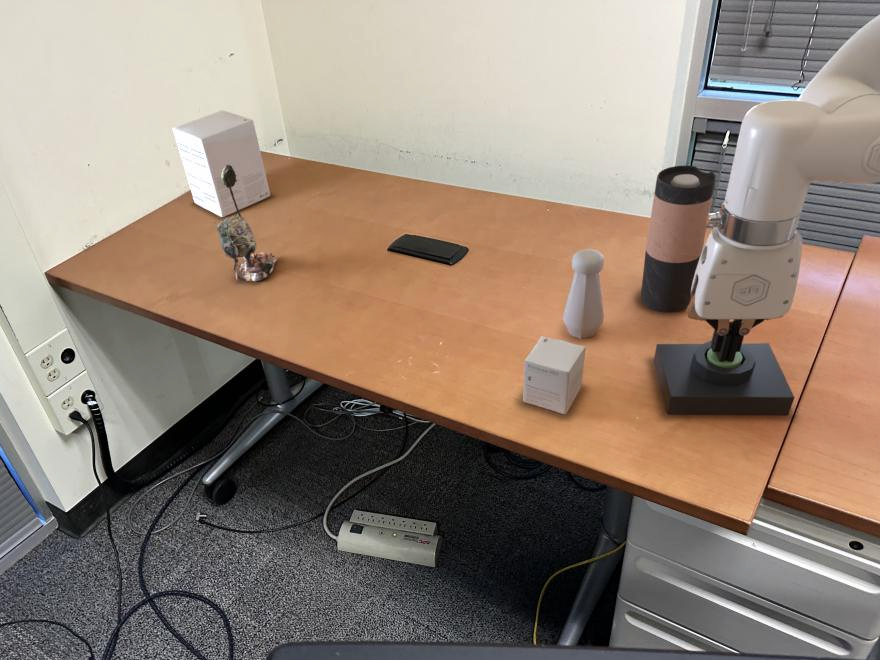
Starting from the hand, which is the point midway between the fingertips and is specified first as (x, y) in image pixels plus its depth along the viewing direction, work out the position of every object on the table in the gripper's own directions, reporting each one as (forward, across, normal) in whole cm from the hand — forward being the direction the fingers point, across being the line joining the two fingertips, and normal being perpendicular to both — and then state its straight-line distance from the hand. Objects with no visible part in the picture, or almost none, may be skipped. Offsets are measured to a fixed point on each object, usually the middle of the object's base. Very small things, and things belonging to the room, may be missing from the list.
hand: (723, 354), depth 87 cm
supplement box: (+6, -89, +66) cm, 111 cm away
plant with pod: (+6, -74, +33) cm, 81 cm away
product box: (+6, -21, -2) cm, 22 cm away
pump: (+2, 0, 0) cm, 2 cm away
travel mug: (+6, -3, +21) cm, 22 cm away
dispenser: (+5, 0, 0) cm, 5 cm away
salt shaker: (+6, -16, +13) cm, 21 cm away
